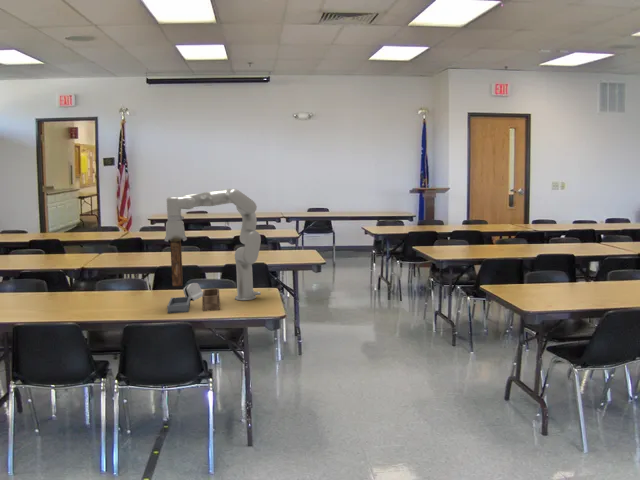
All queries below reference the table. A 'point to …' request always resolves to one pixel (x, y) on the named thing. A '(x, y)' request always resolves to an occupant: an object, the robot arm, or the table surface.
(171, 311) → the tray
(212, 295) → the frame
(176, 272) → the book
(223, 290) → the table surface
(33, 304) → the table surface
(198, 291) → the white gray electronic device
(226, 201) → the robot arm
